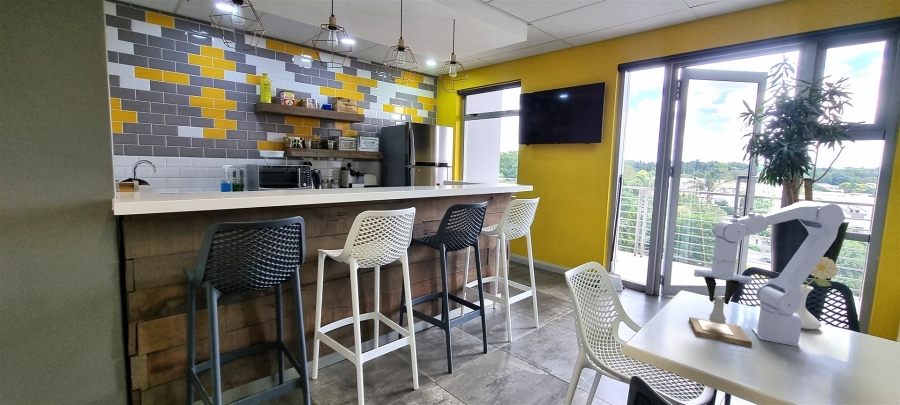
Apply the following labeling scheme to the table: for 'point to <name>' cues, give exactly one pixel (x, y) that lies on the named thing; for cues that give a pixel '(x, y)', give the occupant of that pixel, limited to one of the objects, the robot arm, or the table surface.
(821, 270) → the flower in vase
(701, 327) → the base board
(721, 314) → the rook chess piece
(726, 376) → the table surface
